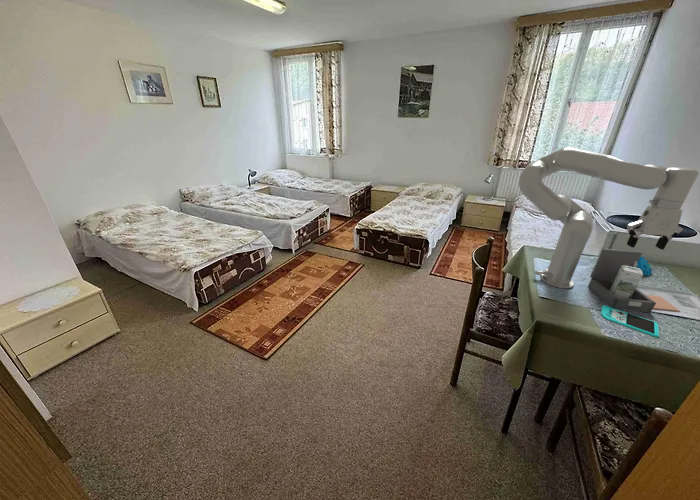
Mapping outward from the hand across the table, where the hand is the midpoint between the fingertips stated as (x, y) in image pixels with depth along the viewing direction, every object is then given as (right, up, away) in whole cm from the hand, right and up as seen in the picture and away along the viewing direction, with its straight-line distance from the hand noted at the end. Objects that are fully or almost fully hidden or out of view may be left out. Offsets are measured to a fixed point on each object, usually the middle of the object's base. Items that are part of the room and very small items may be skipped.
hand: (644, 247), depth 109 cm
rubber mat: (+13, -23, +9) cm, 28 cm away
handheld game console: (-8, -28, -2) cm, 30 cm away
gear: (+31, -12, +32) cm, 46 cm away
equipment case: (-1, -22, +11) cm, 24 cm away
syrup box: (-1, -22, +11) cm, 24 cm away
